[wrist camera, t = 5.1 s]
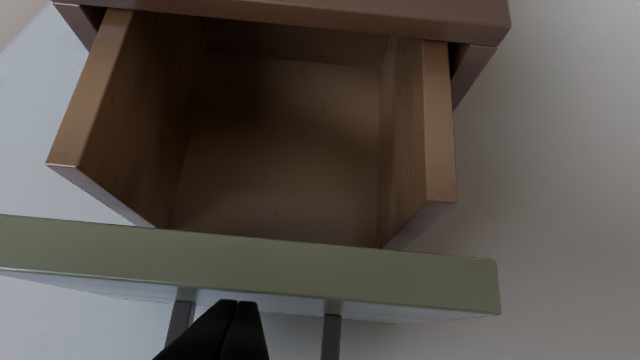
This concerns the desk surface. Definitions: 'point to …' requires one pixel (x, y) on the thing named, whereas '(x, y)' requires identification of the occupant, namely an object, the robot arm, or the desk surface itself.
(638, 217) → the desk surface
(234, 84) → the drawer
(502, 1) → the cabinet
